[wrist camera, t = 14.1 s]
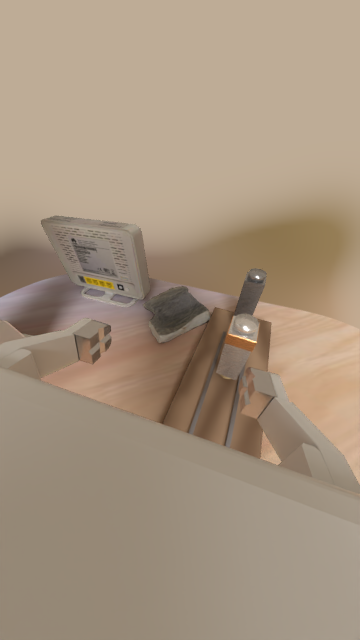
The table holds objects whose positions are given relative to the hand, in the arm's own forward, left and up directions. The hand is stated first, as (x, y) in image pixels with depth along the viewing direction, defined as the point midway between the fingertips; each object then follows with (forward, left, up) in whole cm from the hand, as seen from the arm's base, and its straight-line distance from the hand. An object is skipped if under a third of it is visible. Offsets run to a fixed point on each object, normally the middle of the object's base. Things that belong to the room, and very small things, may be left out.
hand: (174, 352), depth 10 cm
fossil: (-12, +25, -24) cm, 36 cm away
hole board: (+4, +13, -23) cm, 27 cm away
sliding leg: (+4, +13, -21) cm, 25 cm away
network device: (-34, +25, -23) cm, 49 cm away
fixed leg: (+4, +27, -21) cm, 34 cm away
